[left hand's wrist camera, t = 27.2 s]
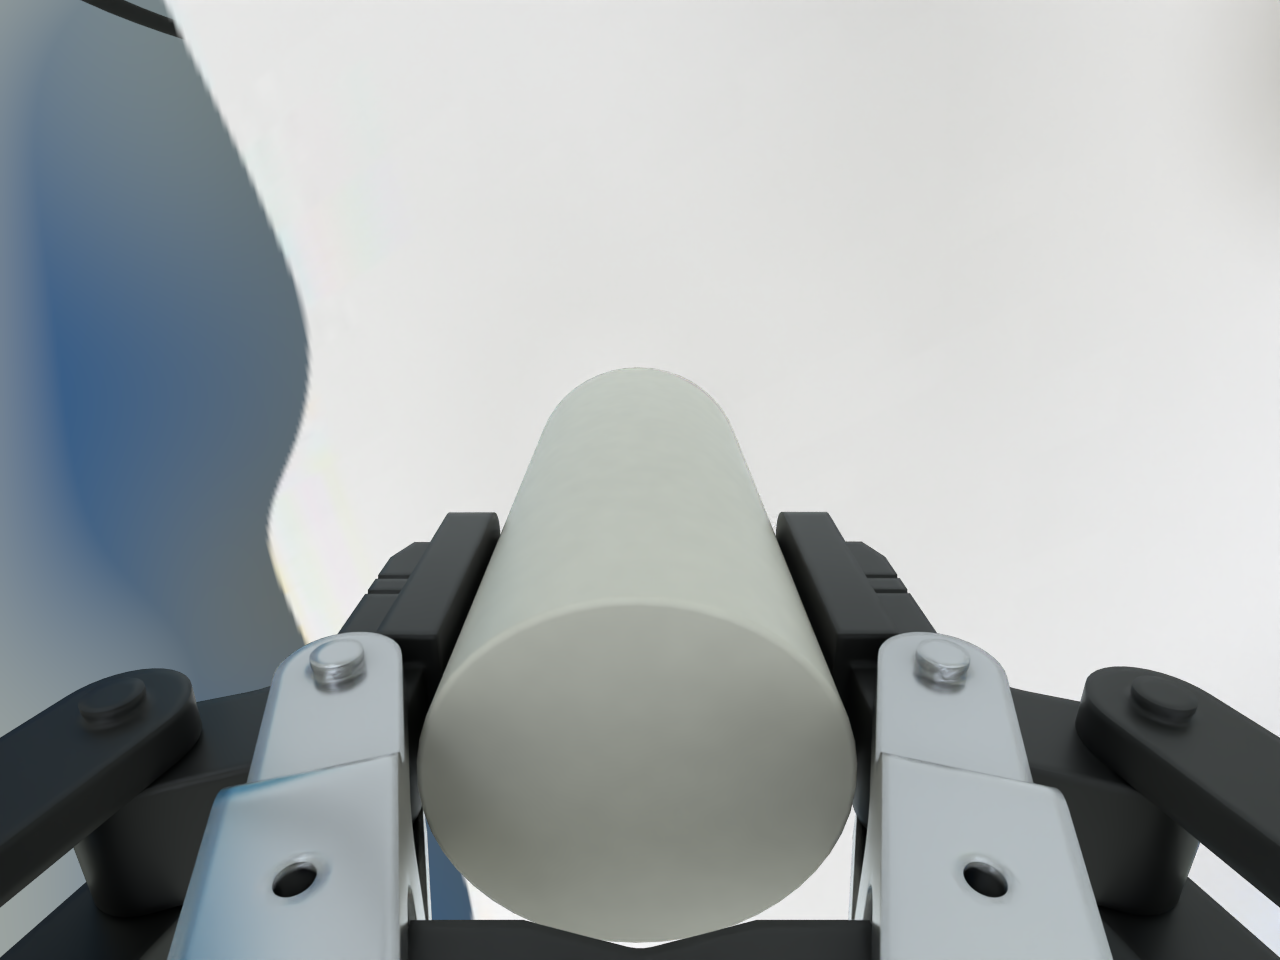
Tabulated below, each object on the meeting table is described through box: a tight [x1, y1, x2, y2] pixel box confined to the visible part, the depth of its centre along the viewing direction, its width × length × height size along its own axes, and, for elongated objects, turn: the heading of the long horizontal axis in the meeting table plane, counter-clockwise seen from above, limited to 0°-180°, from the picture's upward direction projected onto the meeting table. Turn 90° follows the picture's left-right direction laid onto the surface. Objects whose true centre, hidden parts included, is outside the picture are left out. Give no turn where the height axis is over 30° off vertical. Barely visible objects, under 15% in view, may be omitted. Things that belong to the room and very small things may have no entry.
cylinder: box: [417, 368, 857, 943], centre depth 12 cm, size 4×4×10 cm
